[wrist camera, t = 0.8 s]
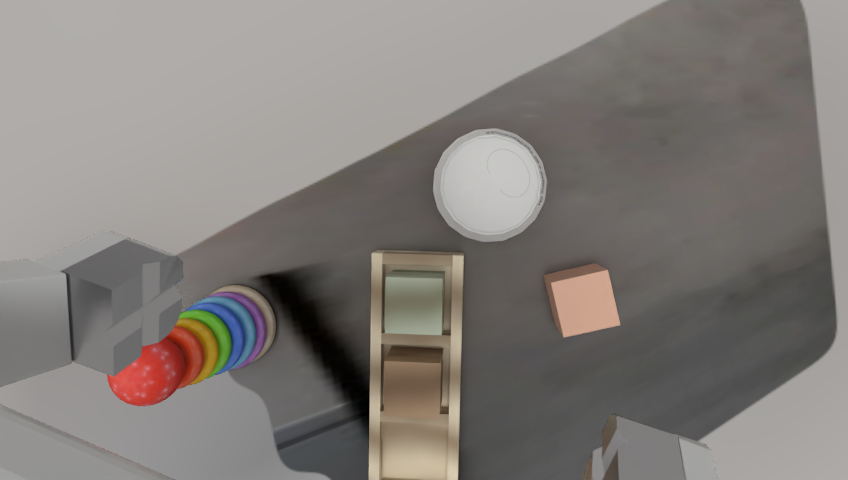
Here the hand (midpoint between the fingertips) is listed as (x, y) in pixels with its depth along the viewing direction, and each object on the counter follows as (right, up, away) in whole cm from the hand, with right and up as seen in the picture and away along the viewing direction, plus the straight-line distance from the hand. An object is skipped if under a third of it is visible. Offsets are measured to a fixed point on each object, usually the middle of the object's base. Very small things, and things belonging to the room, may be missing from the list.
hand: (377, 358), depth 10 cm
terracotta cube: (+15, -3, +45) cm, 48 cm away
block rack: (0, -11, +47) cm, 48 cm away
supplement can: (+7, +7, +45) cm, 46 cm away
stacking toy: (-18, -6, +48) cm, 51 cm away
